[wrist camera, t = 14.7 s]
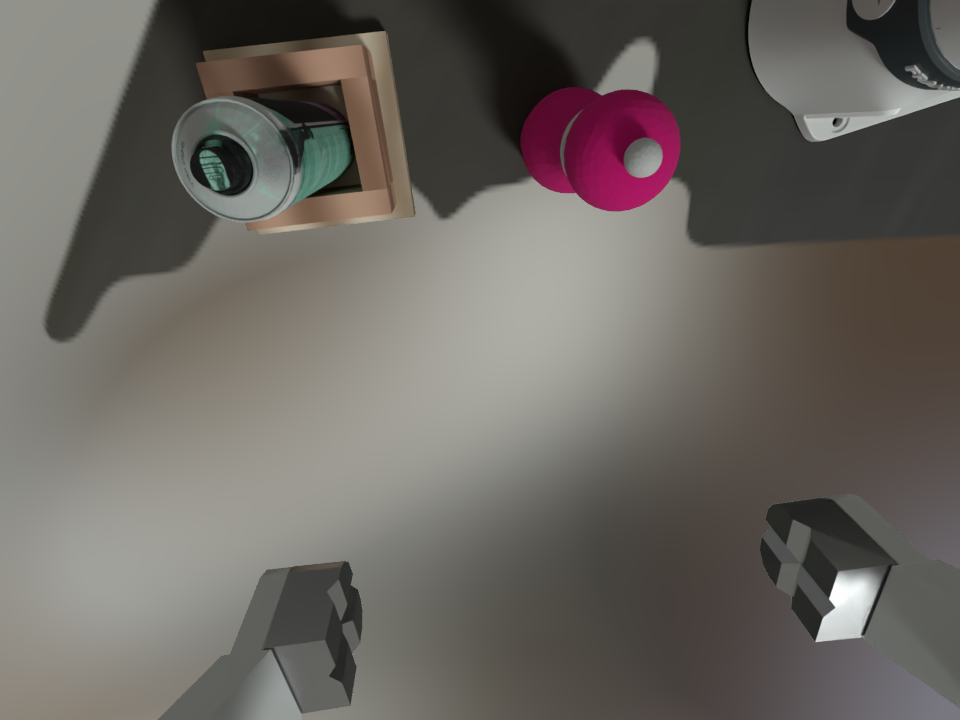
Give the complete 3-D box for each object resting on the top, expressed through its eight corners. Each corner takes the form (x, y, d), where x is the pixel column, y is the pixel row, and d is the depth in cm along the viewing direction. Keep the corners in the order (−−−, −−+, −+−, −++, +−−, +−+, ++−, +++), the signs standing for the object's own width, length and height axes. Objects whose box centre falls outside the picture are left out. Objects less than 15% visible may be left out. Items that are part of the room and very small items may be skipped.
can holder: (387, 33, 36) (377, 18, 31) (415, 213, 42) (411, 229, 37) (211, 53, 36) (167, 41, 30) (264, 230, 42) (236, 249, 36)
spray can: (320, 85, 36) (199, 59, 18) (371, 149, 38) (307, 181, 21) (268, 135, 38) (108, 155, 20) (321, 194, 40) (219, 261, 22)
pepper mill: (516, 189, 42) (572, 245, 24) (511, 93, 39) (572, 76, 21) (599, 181, 42) (715, 230, 24) (602, 85, 39) (738, 62, 21)
